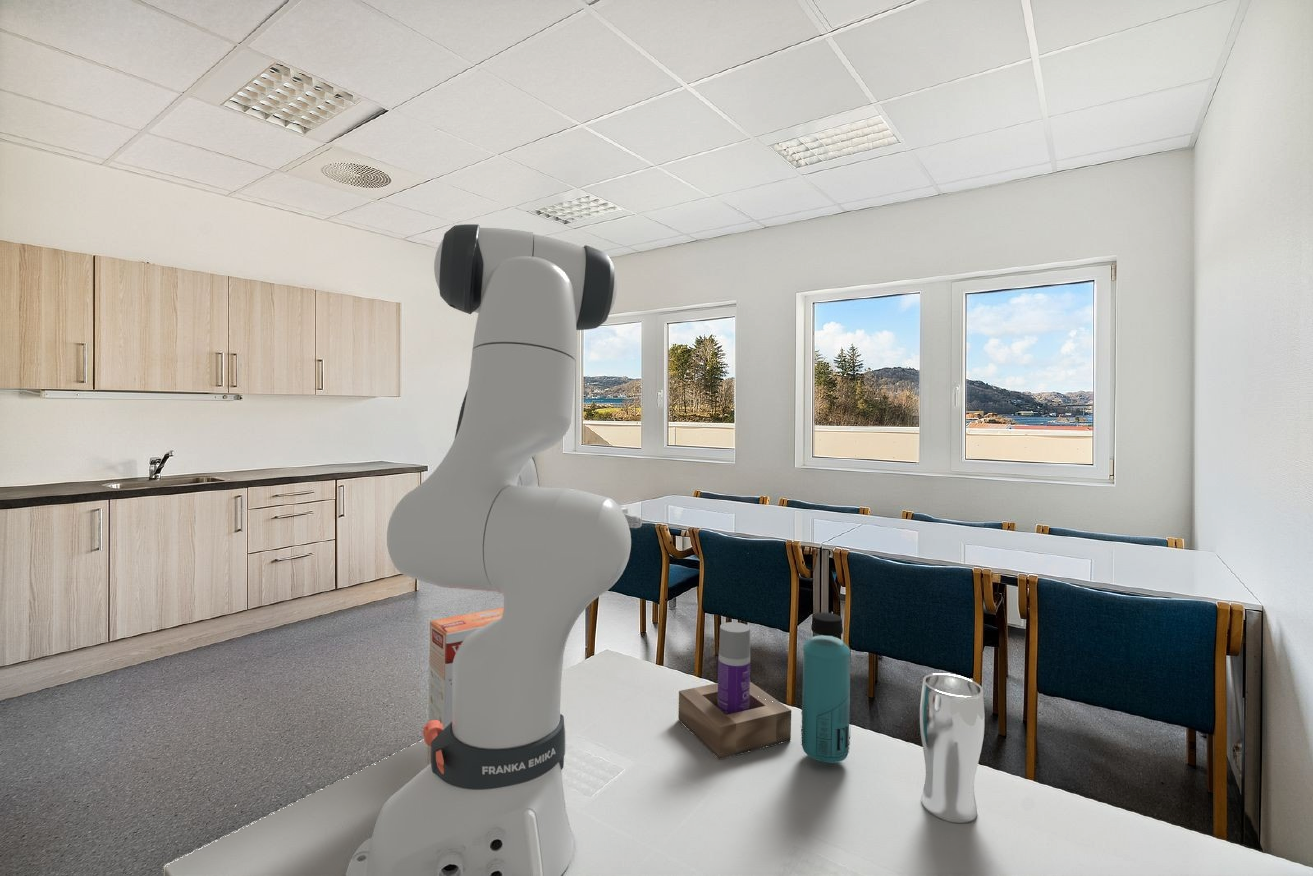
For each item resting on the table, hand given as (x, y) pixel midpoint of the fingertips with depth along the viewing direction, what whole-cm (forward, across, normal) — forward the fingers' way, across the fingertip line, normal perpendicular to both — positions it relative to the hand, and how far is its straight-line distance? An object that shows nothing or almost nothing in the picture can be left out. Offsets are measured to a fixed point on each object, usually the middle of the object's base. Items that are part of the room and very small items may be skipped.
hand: (627, 526), depth 99 cm
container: (+19, -1, +28) cm, 34 cm away
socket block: (+19, -1, +29) cm, 34 cm away
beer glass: (+48, -7, +29) cm, 56 cm away
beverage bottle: (+32, -3, +29) cm, 44 cm away
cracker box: (-6, -26, +29) cm, 39 cm away
